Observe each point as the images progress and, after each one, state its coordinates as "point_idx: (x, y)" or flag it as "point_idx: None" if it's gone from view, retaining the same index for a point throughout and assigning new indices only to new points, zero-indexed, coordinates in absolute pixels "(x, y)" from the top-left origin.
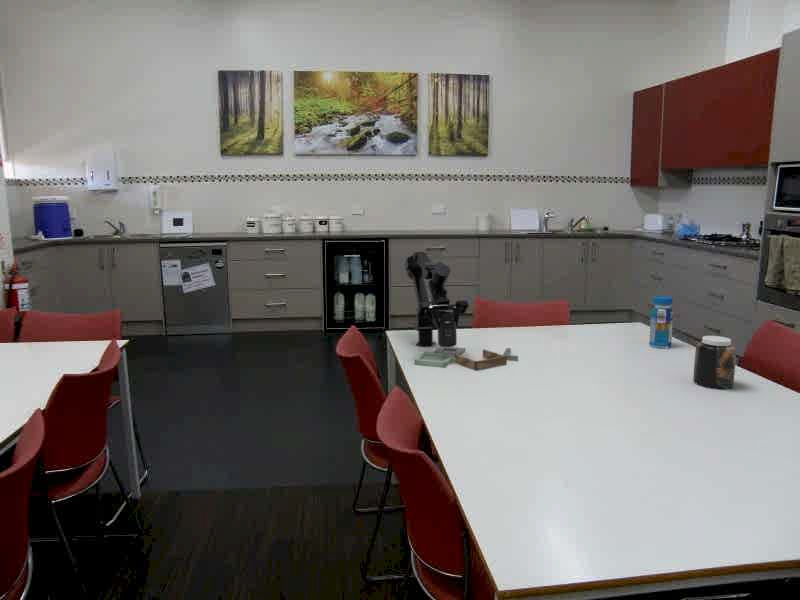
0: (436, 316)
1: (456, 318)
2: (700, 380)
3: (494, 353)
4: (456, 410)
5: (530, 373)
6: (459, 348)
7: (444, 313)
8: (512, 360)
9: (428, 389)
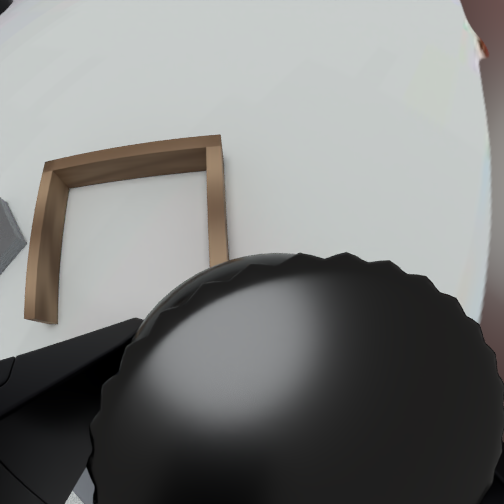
0: (501, 471)
1: (78, 363)
2: (5, 2)
3: (42, 225)
4: (422, 14)
5: (96, 76)
6: (85, 485)
7: (431, 441)
8: (12, 214)
9: (459, 102)
